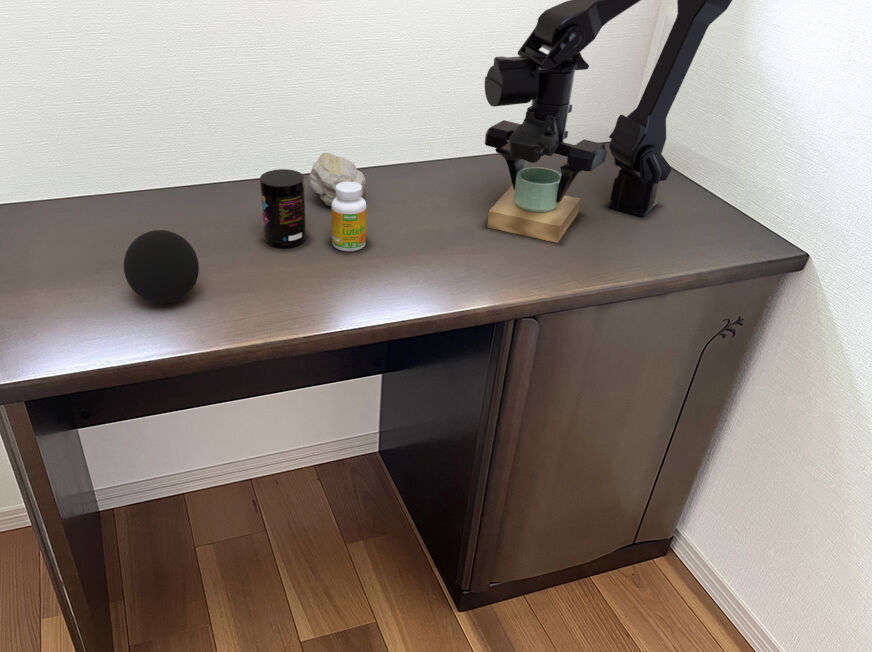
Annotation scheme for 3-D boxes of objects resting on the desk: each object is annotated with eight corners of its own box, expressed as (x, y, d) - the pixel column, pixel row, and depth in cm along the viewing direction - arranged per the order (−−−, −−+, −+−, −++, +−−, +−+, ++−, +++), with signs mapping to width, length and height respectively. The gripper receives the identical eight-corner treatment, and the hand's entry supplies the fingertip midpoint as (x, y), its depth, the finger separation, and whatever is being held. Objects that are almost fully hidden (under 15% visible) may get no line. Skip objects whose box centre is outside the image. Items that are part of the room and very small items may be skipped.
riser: (577, 214, 136) (580, 198, 134) (557, 243, 128) (560, 226, 126) (510, 200, 141) (512, 184, 139) (486, 227, 132) (488, 210, 130)
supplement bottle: (341, 255, 124) (340, 196, 118) (326, 240, 127) (325, 183, 121) (371, 248, 126) (372, 189, 120) (356, 234, 129) (356, 177, 124)
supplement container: (288, 226, 131) (285, 165, 125) (315, 240, 127) (313, 178, 121) (255, 238, 128) (250, 176, 121) (281, 253, 124) (277, 190, 117)
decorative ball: (216, 299, 113) (209, 234, 107) (155, 325, 107) (143, 259, 101) (176, 273, 118) (167, 211, 112) (116, 297, 113) (103, 233, 107)
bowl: (565, 202, 133) (570, 174, 130) (545, 218, 128) (550, 188, 125) (526, 191, 136) (530, 163, 133) (505, 206, 132) (508, 177, 129)
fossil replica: (350, 184, 146) (300, 198, 143) (344, 139, 141) (293, 152, 138) (380, 204, 137) (328, 219, 134) (376, 156, 132) (321, 171, 129)
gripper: (471, 100, 121) (463, 197, 131) (585, 127, 112) (567, 228, 122) (507, 83, 128) (496, 176, 138) (616, 107, 120) (597, 204, 129)
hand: (537, 195), depth 131 cm, fingers closed on bowl, 7 cm apart
